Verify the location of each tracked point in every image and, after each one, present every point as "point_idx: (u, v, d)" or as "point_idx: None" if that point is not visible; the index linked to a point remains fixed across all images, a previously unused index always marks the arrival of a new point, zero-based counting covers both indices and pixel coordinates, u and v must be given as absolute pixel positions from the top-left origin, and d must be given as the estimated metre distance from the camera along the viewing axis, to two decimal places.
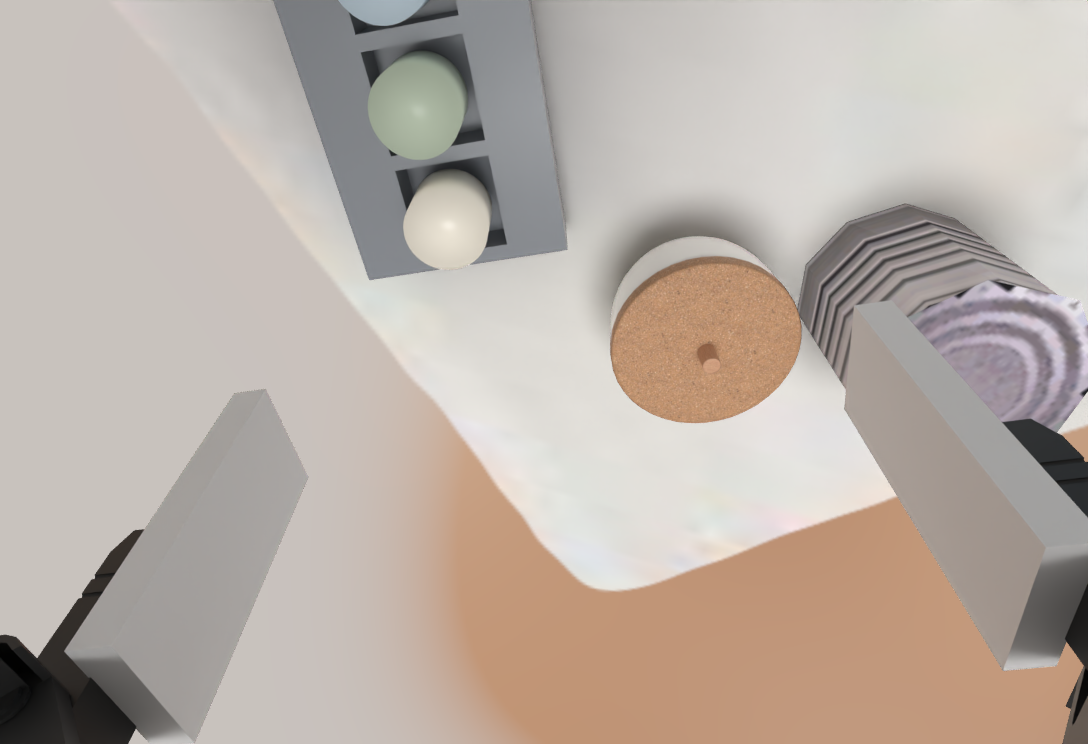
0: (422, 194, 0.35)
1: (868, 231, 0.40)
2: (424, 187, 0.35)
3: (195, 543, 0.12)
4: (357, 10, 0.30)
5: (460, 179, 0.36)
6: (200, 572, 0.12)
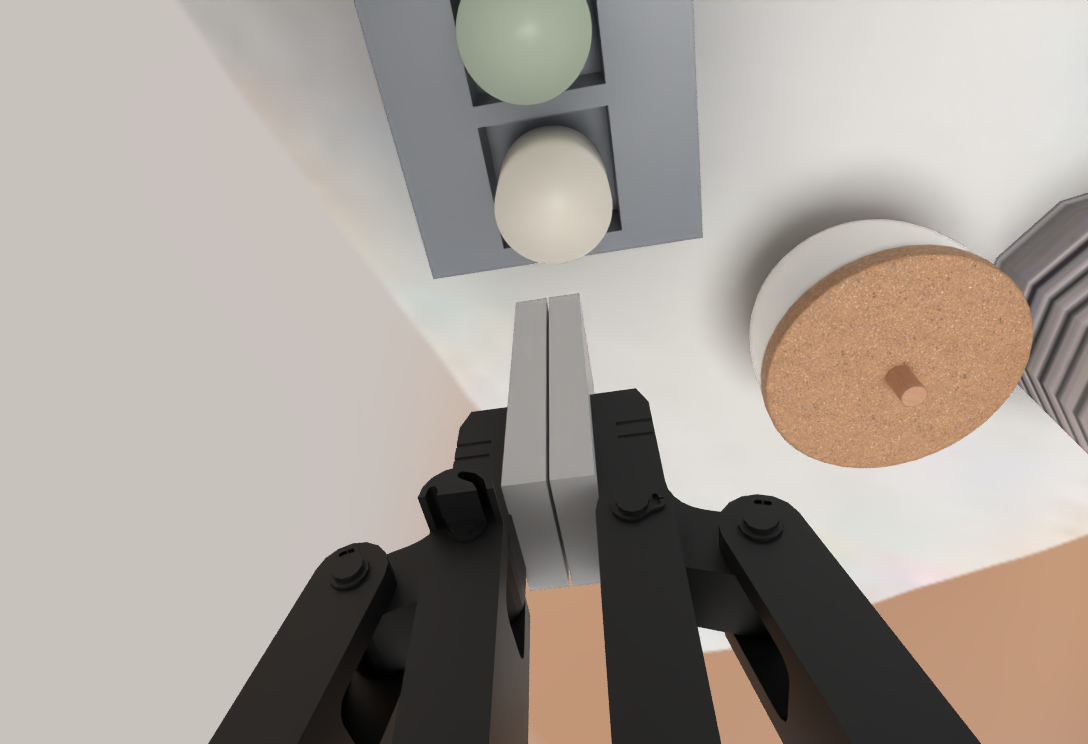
0: (524, 156, 0.24)
1: None
2: (523, 148, 0.25)
3: None
4: None
5: (571, 138, 0.26)
6: None
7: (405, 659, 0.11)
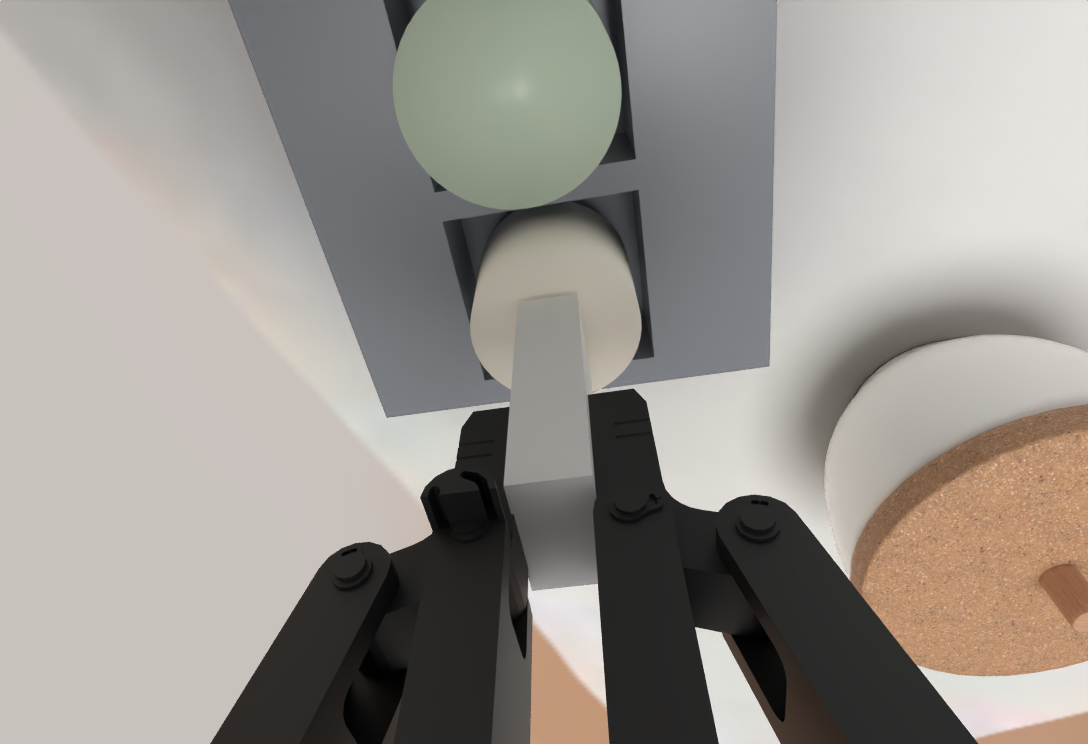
0: (513, 259, 0.16)
1: None
2: (512, 241, 0.17)
3: None
4: None
5: (581, 224, 0.18)
6: None
7: (407, 659, 0.11)
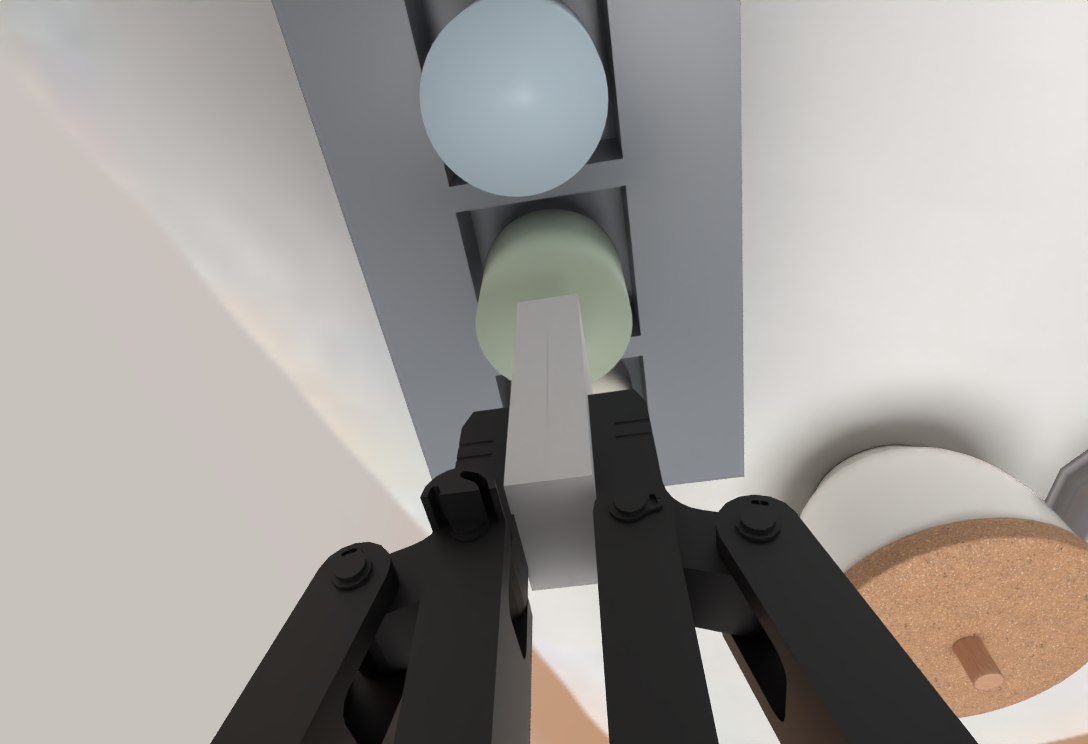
0: None
1: None
2: None
3: None
4: (472, 172, 0.17)
5: None
6: None
7: (407, 659, 0.11)
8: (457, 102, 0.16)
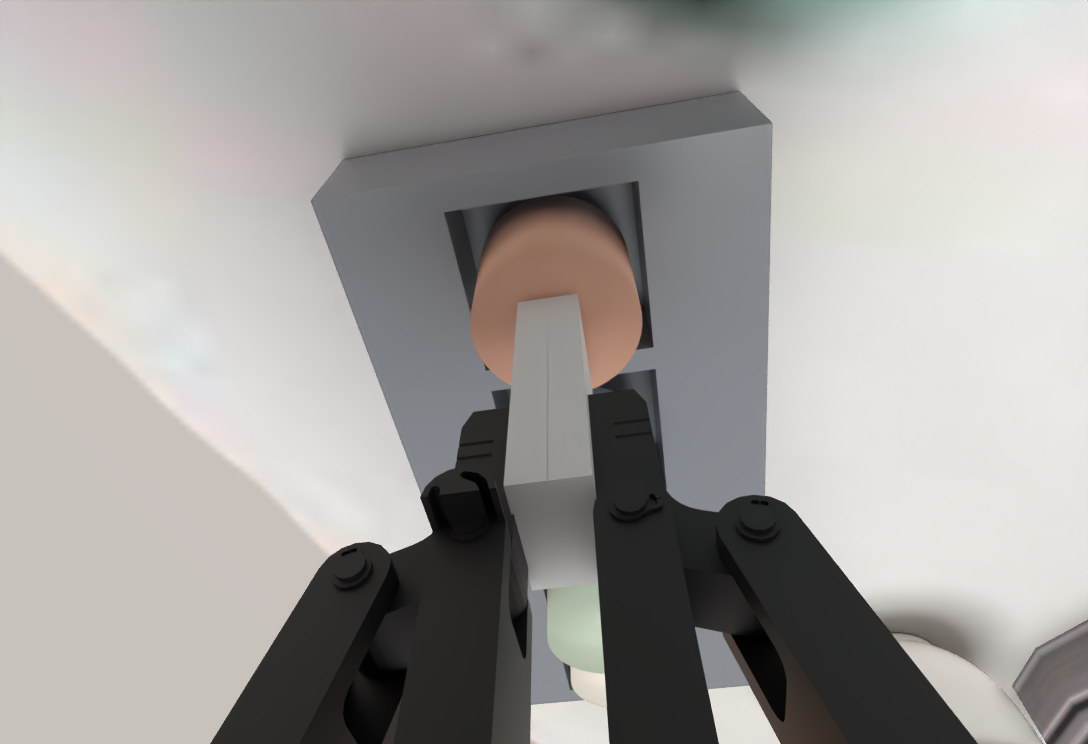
0: None
1: None
2: None
3: None
4: None
5: None
6: None
7: (408, 659, 0.11)
8: None
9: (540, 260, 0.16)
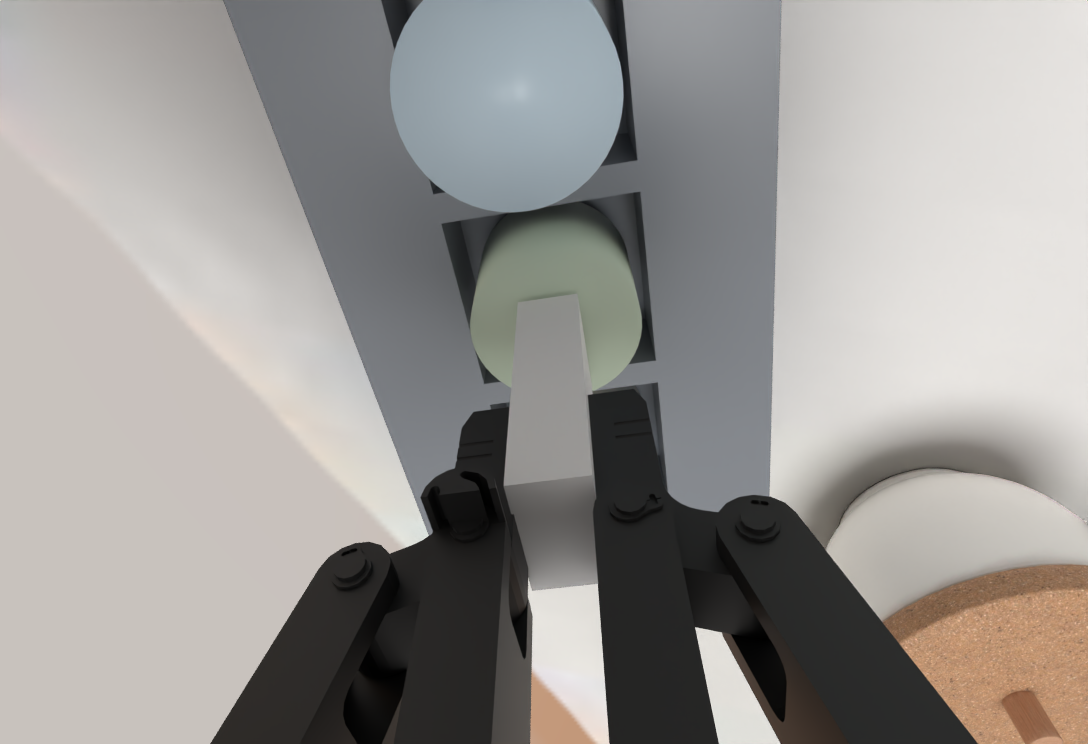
0: None
1: None
2: None
3: None
4: (457, 183, 0.14)
5: None
6: None
7: (407, 659, 0.11)
8: (437, 98, 0.13)
9: None
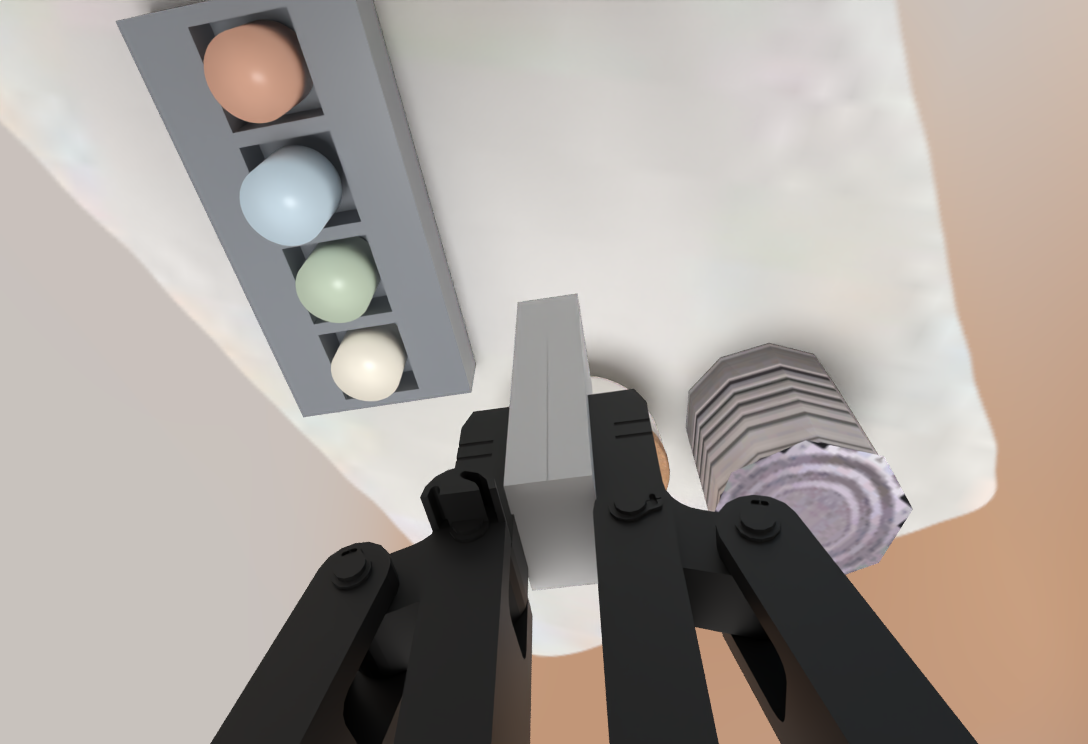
0: (344, 346, 0.43)
1: (734, 371, 0.47)
2: (348, 337, 0.44)
3: None
4: (270, 235, 0.36)
5: (378, 329, 0.44)
6: None
7: (407, 659, 0.11)
8: (257, 206, 0.35)
9: (231, 36, 0.33)
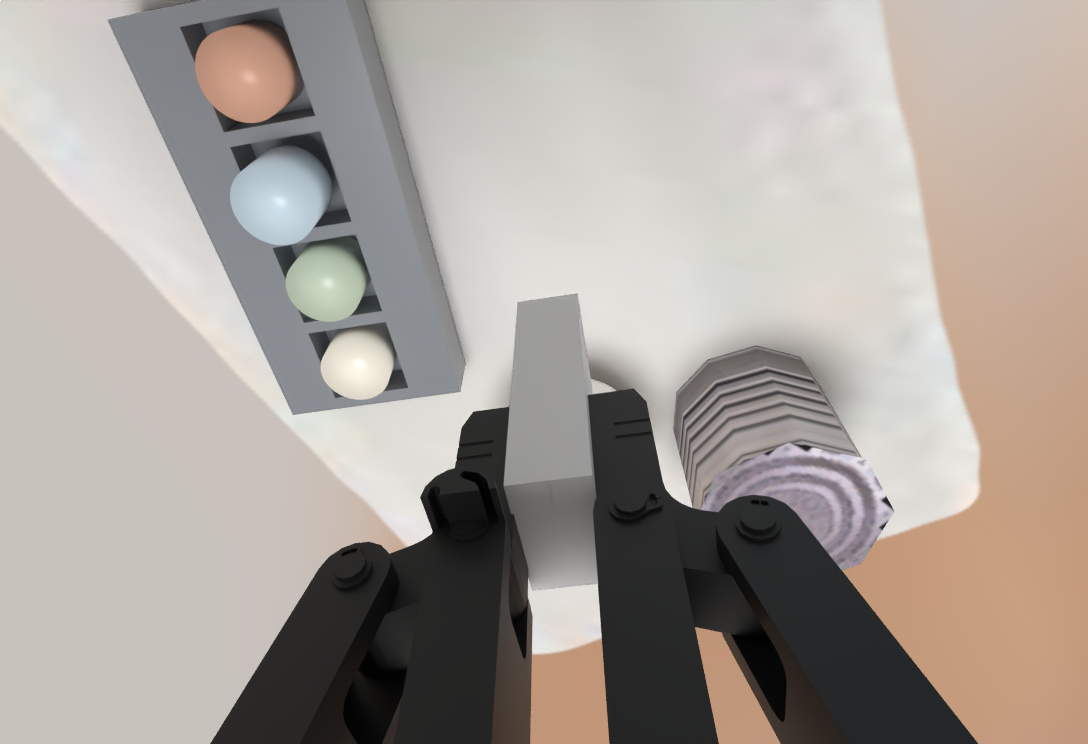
0: (334, 345, 0.43)
1: (720, 373, 0.47)
2: (338, 336, 0.44)
3: None
4: (260, 234, 0.37)
5: (368, 328, 0.44)
6: None
7: (407, 659, 0.11)
8: (247, 205, 0.36)
9: (222, 36, 0.33)
